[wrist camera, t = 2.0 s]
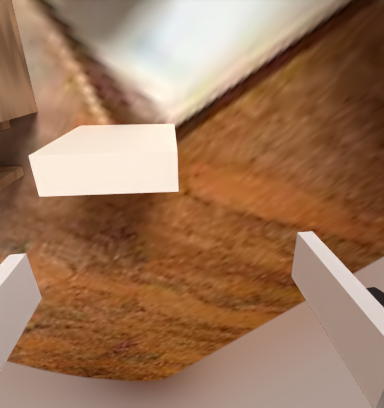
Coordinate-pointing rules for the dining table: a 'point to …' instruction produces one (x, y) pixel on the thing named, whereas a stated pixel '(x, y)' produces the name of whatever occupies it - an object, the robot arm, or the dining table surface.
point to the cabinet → (12, 83)
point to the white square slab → (108, 161)
